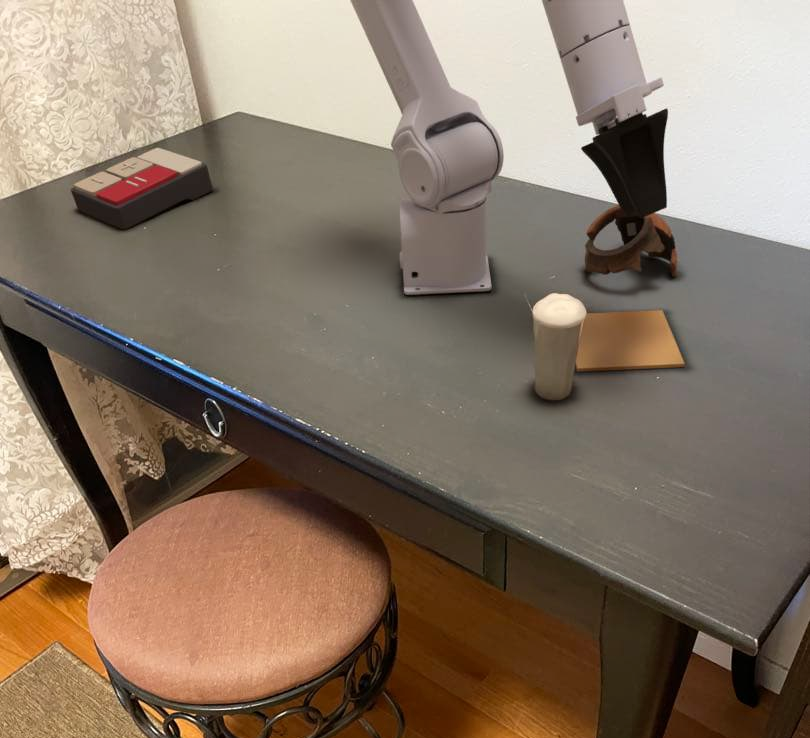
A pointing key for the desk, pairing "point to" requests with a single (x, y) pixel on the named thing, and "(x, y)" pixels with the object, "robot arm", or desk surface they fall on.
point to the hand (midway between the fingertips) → (645, 212)
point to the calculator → (141, 187)
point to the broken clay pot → (630, 242)
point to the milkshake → (556, 343)
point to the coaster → (627, 342)
